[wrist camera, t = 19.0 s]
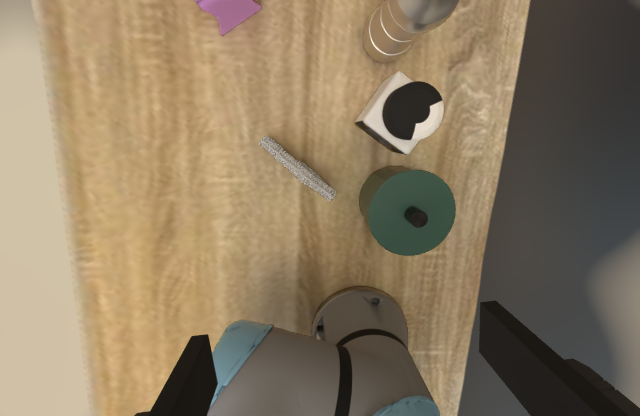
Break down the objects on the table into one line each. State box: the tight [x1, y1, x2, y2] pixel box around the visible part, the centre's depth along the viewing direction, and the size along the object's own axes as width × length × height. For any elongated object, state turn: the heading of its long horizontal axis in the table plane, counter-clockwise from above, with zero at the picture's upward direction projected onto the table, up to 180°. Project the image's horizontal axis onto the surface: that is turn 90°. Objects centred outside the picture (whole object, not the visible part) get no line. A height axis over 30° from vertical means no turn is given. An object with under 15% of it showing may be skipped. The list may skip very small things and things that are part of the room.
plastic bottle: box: [363, 0, 459, 62], centre depth 33 cm, size 6×7×20 cm
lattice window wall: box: [259, 135, 337, 201], centre depth 43 cm, size 12×2×6 cm, turn 51°
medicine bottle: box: [355, 71, 444, 155], centre depth 39 cm, size 7×7×12 cm
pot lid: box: [368, 170, 456, 256], centre depth 38 cm, size 11×11×4 cm
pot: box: [359, 166, 410, 225], centre depth 43 cm, size 10×10×8 cm
